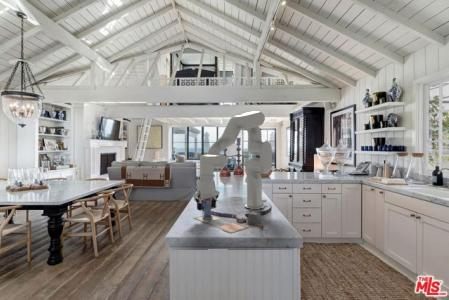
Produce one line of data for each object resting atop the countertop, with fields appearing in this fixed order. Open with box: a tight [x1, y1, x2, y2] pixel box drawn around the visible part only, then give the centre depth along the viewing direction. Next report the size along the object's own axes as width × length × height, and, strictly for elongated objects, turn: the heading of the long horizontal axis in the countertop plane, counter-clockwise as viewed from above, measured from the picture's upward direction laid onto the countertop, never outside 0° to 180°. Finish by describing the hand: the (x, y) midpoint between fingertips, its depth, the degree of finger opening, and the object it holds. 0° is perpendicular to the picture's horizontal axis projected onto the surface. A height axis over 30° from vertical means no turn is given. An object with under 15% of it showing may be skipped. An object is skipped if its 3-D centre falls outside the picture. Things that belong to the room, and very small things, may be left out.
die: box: [247, 211, 262, 225], centre depth 142 cm, size 5×5×5 cm
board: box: [192, 214, 250, 234], centre depth 142 cm, size 12×32×1 cm, turn 40°
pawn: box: [202, 199, 213, 220], centre depth 150 cm, size 6×6×11 cm
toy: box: [201, 198, 219, 209], centre depth 177 cm, size 8×8×15 cm
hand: (206, 208), depth 149 cm, fingers open, 9 cm apart
